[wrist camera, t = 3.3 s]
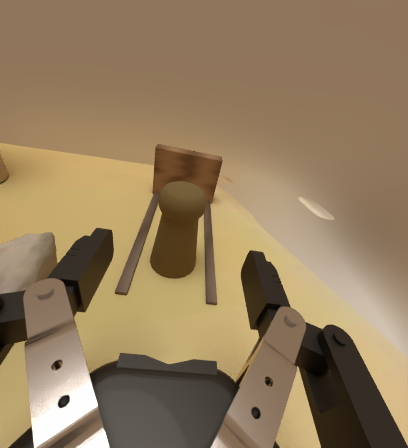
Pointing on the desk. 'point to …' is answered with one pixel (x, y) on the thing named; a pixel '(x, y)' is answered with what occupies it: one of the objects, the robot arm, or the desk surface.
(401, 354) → the desk surface
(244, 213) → the desk surface
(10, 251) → the ceramic sculpture
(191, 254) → the cork
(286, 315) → the robot arm
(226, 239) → the desk surface
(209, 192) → the lane
